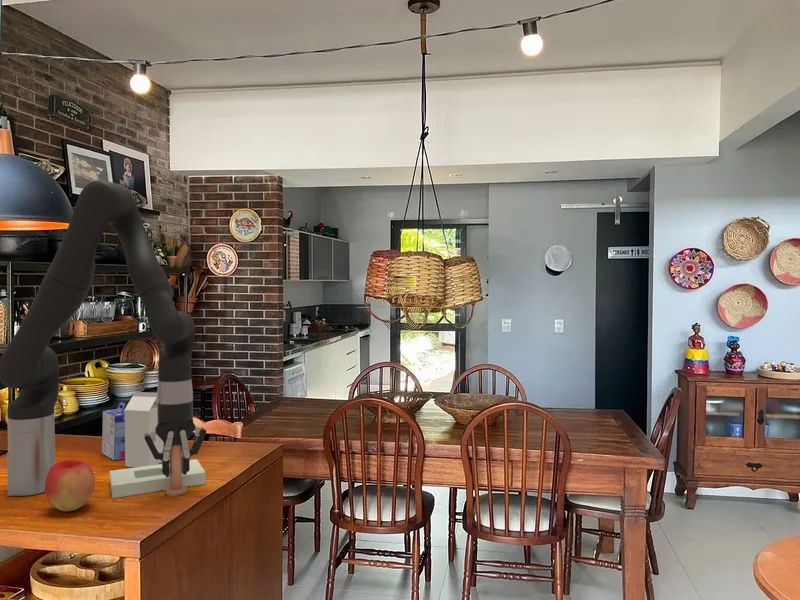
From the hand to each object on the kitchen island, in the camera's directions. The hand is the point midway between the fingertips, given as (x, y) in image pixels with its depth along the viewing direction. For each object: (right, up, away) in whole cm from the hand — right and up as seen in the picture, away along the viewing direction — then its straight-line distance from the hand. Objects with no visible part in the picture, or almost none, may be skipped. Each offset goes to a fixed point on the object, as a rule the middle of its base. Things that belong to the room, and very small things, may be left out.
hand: (176, 474), depth 136 cm
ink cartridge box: (-27, -4, +30) cm, 41 cm away
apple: (-19, -5, -10) cm, 21 cm away
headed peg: (0, -4, 0) cm, 4 cm away
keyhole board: (-7, -4, +7) cm, 10 cm away
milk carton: (-16, -4, +22) cm, 28 cm away
